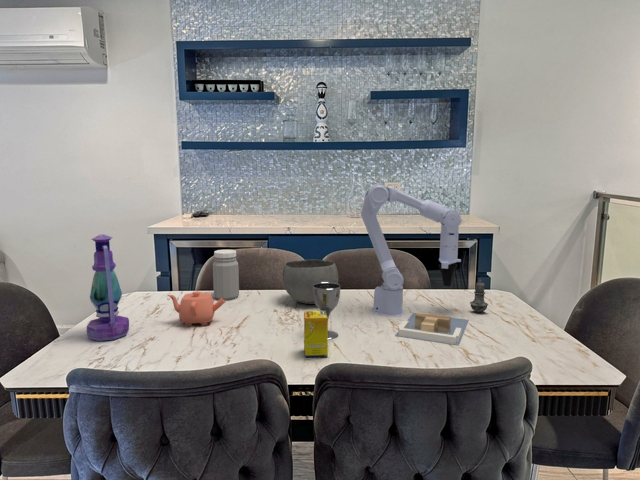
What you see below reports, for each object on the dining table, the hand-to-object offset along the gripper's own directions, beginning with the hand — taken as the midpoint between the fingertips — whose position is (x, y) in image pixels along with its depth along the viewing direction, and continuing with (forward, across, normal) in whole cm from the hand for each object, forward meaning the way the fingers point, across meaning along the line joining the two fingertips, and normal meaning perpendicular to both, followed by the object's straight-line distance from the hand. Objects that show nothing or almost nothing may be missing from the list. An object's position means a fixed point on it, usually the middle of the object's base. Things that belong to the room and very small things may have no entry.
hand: (447, 285), depth 151 cm
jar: (+10, -14, +80) cm, 82 cm away
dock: (+9, -24, +1) cm, 26 cm away
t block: (+9, -22, +1) cm, 24 cm away
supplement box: (+10, -49, +26) cm, 56 cm away
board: (+10, -17, +1) cm, 20 cm away
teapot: (+10, -42, +71) cm, 83 cm away
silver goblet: (+10, -35, +29) cm, 47 cm away
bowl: (+10, -6, +48) cm, 49 cm away
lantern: (+10, -62, +87) cm, 107 cm away
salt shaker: (+10, +5, -10) cm, 15 cm away
